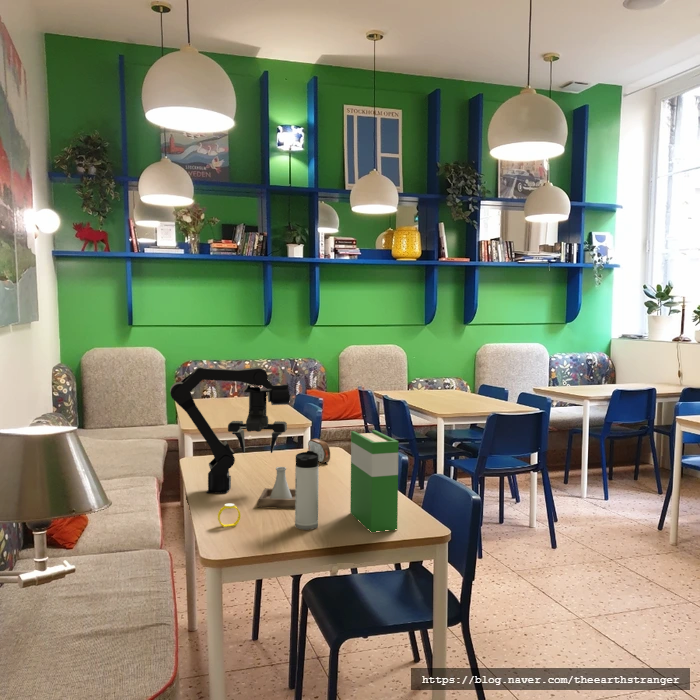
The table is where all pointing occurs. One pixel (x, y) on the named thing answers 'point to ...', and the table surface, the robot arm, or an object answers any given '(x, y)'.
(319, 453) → the tin
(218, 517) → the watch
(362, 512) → the hardback book
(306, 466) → the travel mug
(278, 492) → the flask
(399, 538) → the table surface
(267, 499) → the tray
